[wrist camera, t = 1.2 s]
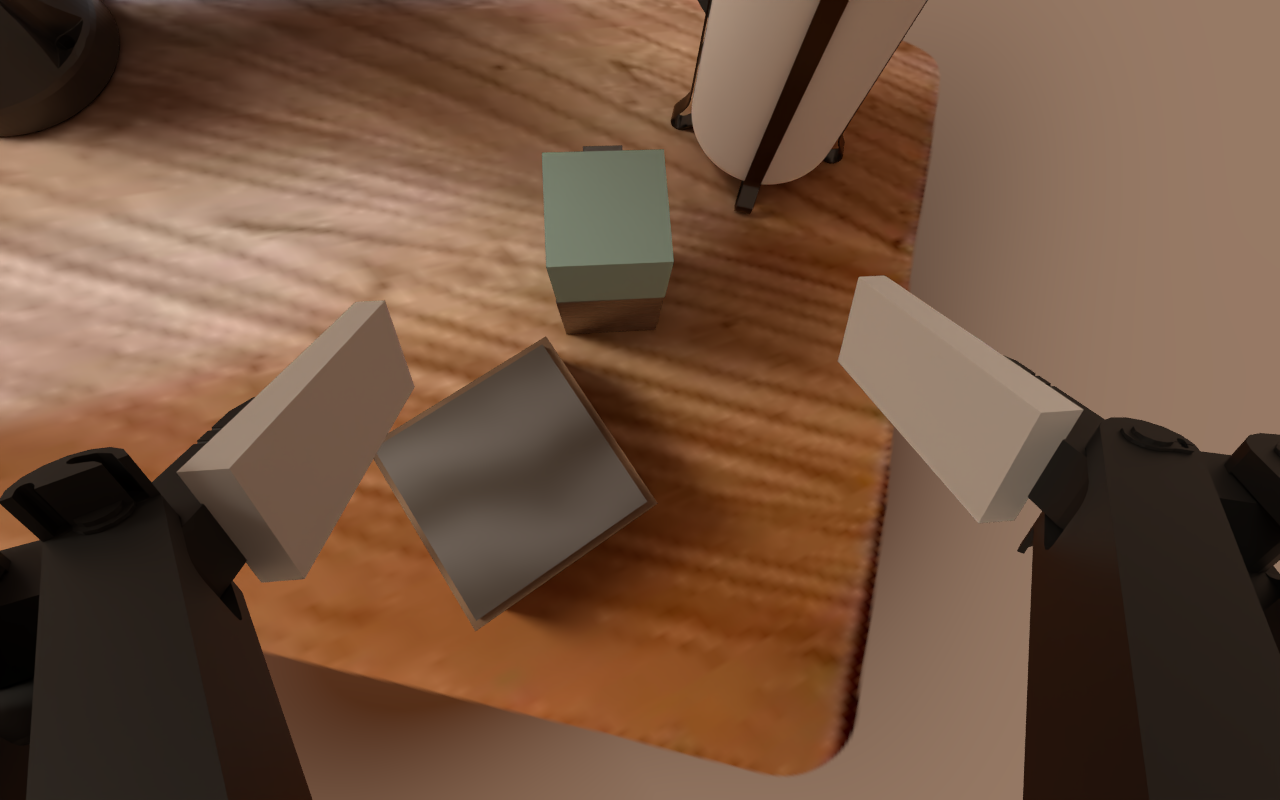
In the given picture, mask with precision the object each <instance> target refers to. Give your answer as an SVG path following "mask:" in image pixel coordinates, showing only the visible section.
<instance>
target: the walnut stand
mask: <svg viewBox="0 0 1280 800" xmlns="http://www.w3.org/2000/svg"><path fill="white" fill-rule="evenodd" d="M374 460H375V462H376V464H377V466H378V467H379V469H380V471H381V472H382V474H383V476H384V477H385V479H386V481H387V482H388V484H389V486H390V488H391V489H392V491H393V493H394V494H395V496H396V498H397V499H398V501H399V503H400V504H401V506H402V508H403V510H404V511H405V513H406V515H407V516H408V518H409V520H410V521H411V523H412V525H413V526H414V528H415V530H416V531H417V533H418V535H419V537H420V538H421V540H422V542H423V543H424V545H425V547H426V548H427V550H428V552H429V553H430V555H431V557H432V559H433V560H434V562H435V564H436V565H437V567H438V569H439V570H440V572H441V574H442V575H443V577H444V579H445V580H446V582H447V584H448V586H449V587H450V589H451V591H452V592H453V594H454V596H455V597H456V599H457V601H458V602H459V604H460V606H461V608H462V609H463V611H464V613H465V614H466V616H467V618H468V619H469V621H470V623H471V624H472V626H473V628H474V630H475V631H477V630H478V629H480V628H481V627H482V626H484V625H485V624H487V623H488V622H490V621H491V620H492V619H494V618H495V617H497V616H498V615H500V614H501V613H502V612H504V611H505V610H507V609H508V608H510V607H511V606H512V605H514V604H515V603H517V602H518V601H519V600H521V599H522V598H524V597H525V596H527V595H528V594H529V593H531V592H532V591H534V590H535V589H537V588H538V587H539V586H541V585H542V584H544V583H545V582H547V581H548V580H549V579H551V578H552V577H554V576H555V575H556V574H558V573H559V572H561V571H562V570H564V569H565V568H566V567H568V566H569V565H571V564H572V563H574V562H575V561H576V560H578V559H579V558H581V557H582V556H584V555H585V554H586V553H588V552H589V551H591V550H592V549H594V548H595V547H596V546H598V545H599V544H601V543H602V542H603V541H605V540H606V539H608V538H609V537H611V536H612V535H613V534H615V533H616V532H618V531H619V530H621V529H622V528H623V527H625V526H626V525H628V524H629V523H631V522H632V521H633V520H635V519H636V518H638V517H639V516H641V515H642V514H643V513H645V512H646V511H648V510H649V509H650V508H652V507H653V506H655V505H656V504H658V503H657V502H656V500H655V499H654V497H653V496H652V494H651V493H650V491H649V490H648V488H647V487H646V485H645V484H644V482H643V481H642V479H641V478H640V476H639V475H638V473H637V472H636V470H635V469H634V467H633V466H632V464H631V463H630V461H629V460H628V458H627V457H626V455H625V454H624V452H623V451H622V449H621V448H620V446H619V445H618V443H617V442H616V440H615V439H614V437H613V436H612V434H611V433H610V431H609V430H608V428H607V427H606V425H605V424H604V422H603V421H602V419H601V418H600V416H599V415H598V413H597V412H596V410H595V409H594V407H593V406H592V404H591V403H590V401H589V400H588V398H587V397H586V395H585V394H584V392H583V391H582V389H581V388H580V386H579V385H578V384H577V382H576V381H575V379H574V378H573V376H572V375H571V373H570V372H569V370H568V369H567V367H566V366H565V364H564V363H563V361H562V360H561V358H560V357H559V355H558V354H557V352H556V351H555V349H554V348H553V346H552V345H551V343H550V342H549V340H548V339H547V337H544V338H543V339H541V340H539V341H538V342H536V343H534V344H533V345H531V346H530V347H528V348H526V349H525V350H523V351H521V352H520V353H518V354H517V355H515V356H513V357H512V358H510V359H508V360H507V361H505V362H504V363H502V364H500V365H499V366H497V367H495V368H494V369H492V370H491V371H489V372H487V373H486V374H484V375H482V376H481V377H479V378H478V379H476V380H474V381H473V382H471V383H469V384H468V385H466V386H465V387H463V388H461V389H460V390H458V391H456V392H455V393H453V394H452V395H450V396H448V397H447V398H445V399H443V400H442V401H440V402H439V403H437V404H435V405H434V406H432V407H430V408H429V409H427V410H426V411H424V412H422V413H421V414H419V415H417V416H416V417H414V418H413V419H411V420H409V421H408V422H406V423H405V424H403V425H401V426H400V427H398V428H396V429H395V430H393V431H392V432H390V433H388V434H387V436H386V438H385V439H384V441H383V443H382V445H381V446H380V448H379V450H378V452H377V453H376V455H375V457H374Z"/></svg>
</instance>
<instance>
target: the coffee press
mask: <svg viewBox="0 0 1280 800" xmlns="http://www.w3.org/2000/svg"><path fill="white" fill-rule="evenodd" d="M927 1H928V0H698V2H699V3H700V5H701V7H702V9H703V10H704V12H705V14H706V15H705V21H704V26H703V31H702V36H701V42H700V47H699V52H698V57H697V63H696V68H695V73H694V78H693V83H692V88H691V91H690V92H689V93H688V95H687V96H685V97H684V98H683V99H682V100H680V101H679V102H678V103H676V104H675V106H674V109H673V113H672V118H671V124H672V126H673V127H674V128H676V129H679V130H683V129H686V128H689V127H691V126H693V129H694V132H695V135H696V138H697V140H698V142H699V144H700V146H701V148H702V149H703V151H704V152H705V154H706V155H707V156H708V158H709V159H710V160H711V161H712V162H713V163H714V164H715V165H716V166H718V167H719V168H720V169H721V170H723V171H724V172H726V173H728V174H729V175H731V176H733V177H735V178H737V179H740V180H742V181H741V185H740V188H739V192H738V195H737V199H736V203H735V208H734V211H738V212H743V213H747V214H750V213H751V212H752V209H753V206H754V203H755V200H756V197H757V194H758V191H759V188H760V185H761V184H764V185H772V184H781V183H786V182H789V181H793V180H795V179H798V178H800V177H802V176H804V175H806V174H807V173H809V172H810V171H812V170H813V169H814V168H816V167H817V166H818V165H819V164H820V163H821V162H822V161H823V160H824V161H825V162H827V163H837V162H839V161H840V160H841V159H842V157H843V151H844V144H845V141H844V138H843V135H842V134H843V132H844V131H845V129H846V127H847V126H848V124H849V123H850V121H851V119H852V118H853V116H854V115H855V113H856V112H857V110H858V108H859V107H860V105H861V104H862V102H863V101H864V99H865V97H866V96H867V94H868V93H869V91H870V90H871V88H872V86H873V85H874V83H875V82H876V80H877V79H878V77H879V76H880V74H881V72H882V71H883V69H884V68H885V66H886V65H887V63H888V61H889V60H890V58H891V57H892V55H893V54H894V52H895V51H896V49H897V47H898V46H899V44H900V43H901V41H902V40H903V38H904V37H905V35H906V33H907V32H908V30H909V29H910V27H911V26H912V24H913V22H914V21H915V19H916V18H917V16H918V15H919V13H920V12H921V10H922V8H923V7H924V5H925V4H926V2H927ZM707 18H708V23H707ZM706 23H707V28H706ZM705 28H706V33H705ZM704 33H705V38H704ZM703 38H704V42H703ZM702 43H703V44H702ZM698 66H699V69H698ZM697 69H698V74H697ZM696 74H697V79H696V84H695V90H694V95H693V101H692V113H691V114H688V115H685V116H682V115H679V114H680V113H682V112H683V111H684V110H685V109H686V108H687V107H688V106H689V104H690V101H691V97H692V92H693V88H694V83H695V78H696ZM837 139H838V147H839V148H838V149H831V148H832V147H833V145H834V144H835V142H836V141H837Z"/></svg>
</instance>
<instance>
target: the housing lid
mask: <svg viewBox="0 0 1280 800" xmlns="http://www.w3.org/2000/svg"><path fill="white" fill-rule="evenodd" d="M542 168H543V195H544V222H545V249H546V268H547V271H548V274H549V278H550V281H551V284H552V287H553V290H554V293H555V297H556V300H557V302H575V301H597V300H618V299H640V298H661V297H665V294H666V290H667V286H668V282H669V279H670V275H671V271H672V267H673V263H674V258H673V247H672V235H671V224H670V213H669V202H668V190H667V179H666V168H665V156H664V149H659V150H622V145H621V146H583V152H548V153H542Z"/></svg>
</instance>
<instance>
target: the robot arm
mask: <svg viewBox="0 0 1280 800" xmlns="http://www.w3.org/2000/svg"><path fill="white" fill-rule="evenodd" d="M118 55H119V34H118V29H117V26H116V23H115V21H114V18H113V17H112V15H111V13H110V12H109V10H108V9H107V8H106V6H105V5H104V4H103V3H102V2H101V1H100V0H0V136H14V135H22V134H28V133H32V132H36V131H40V130H43V129H46V128H49V127H52V126H54V125H56V124H59V123H61V122H63V121H65V120H66V119H68V118H70V117H72V116H73V115H75V114H76V113H78V112H79V111H81V110H82V109H83V108H85V107H86V106H87V105H88V104H89V103H90V102H92V101H93V100H94V99H95V98H96V97H97V95H98V94H99V93H100V92H101V91H102V89H103V88H104V87H105V85H106V84H107V82H108V81H109V79H110V77H111V75H112V73H113V71H114V69H115V66H116V63H117V60H118ZM838 362H839V363H840V364H841V365H842V367H843V368H844V369H845V370H846V371H847V372H848V374H849V375H850V376H851V377H852V378H853V379H854V380H855V382H856V383H857V384H858V385H859V386H860V387H861V388H862V390H863V391H864V392H865V393H866V394H867V395H868V397H869V398H870V399H871V400H872V401H873V402H874V403H875V405H876V406H877V407H878V408H879V409H880V410H881V412H882V413H883V414H884V415H885V416H886V417H887V418H888V420H889V421H890V422H891V423H892V424H893V425H894V426H895V428H896V429H897V430H898V431H899V432H900V433H901V435H902V436H903V437H904V438H905V439H906V440H907V441H908V443H909V444H910V445H911V446H912V447H913V448H914V449H915V451H916V452H917V453H918V454H919V455H920V456H921V458H922V459H923V460H924V461H925V462H926V463H927V464H928V466H929V467H930V468H931V469H932V470H933V471H934V473H935V474H936V475H937V476H938V477H939V478H940V479H941V481H942V482H943V483H944V484H945V485H946V486H947V488H948V489H949V490H950V491H951V492H952V493H953V494H954V495H955V497H956V498H957V499H958V500H959V501H960V502H961V504H962V505H963V506H964V507H965V508H966V509H967V511H968V512H969V513H970V514H971V515H972V516H973V517H974V519H975V520H976V521H977V522H978V523H988V522H999V521H1012V520H1015V519H1016V517H1017V516H1018V514H1019V512H1020V511H1021V509H1022V508H1023V506H1024V504H1025V503H1026V501H1027V500H1028V498H1029V499H1030V500H1031V501H1033V502H1034V503H1035V504H1036V505H1037V506H1038V507H1039V508H1040V509H1041V510H1042V513H1041V514H1040V516H1039V517H1038V519H1037V520H1036V522H1035V523H1034V525H1033V526H1032V528H1031V529H1030V531H1029V532H1028V534H1027V535H1026V537H1025V538H1024V540H1023V541H1022V543H1021V544H1020V546H1019V548H1018V550H1017V551H1018V552H1021V553H1025V551H1026V550H1027V548H1028V547H1031V546H1033V562H1032V586H1031V612H1030V638H1029V662H1028V687H1027V689H1028V690H1027V712H1026V713H1027V714H1026V739H1025V763H1024V788H1023V800H1280V574H1279V572H1278V571H1277V570H1276V569H1275V567H1274V566H1273V565H1274V564H1275V563H1277V562H1278V561H1279V560H1280V435H1276V434H1264V433H1260V434H1254V435H1250V436H1248V437H1247V438H1246V440H1245V441H1244V442H1243V443H1242V444H1241V445H1240V446H1239V447H1238V448H1237V450H1236V451H1235V452H1234V453H1233V454H1232V455H1224V454H1216V453H1208V452H1201V451H1199V449H1198V448H1197V447H1196V446H1195V444H1193V443H1192V442H1190V441H1189V440H1188V439H1186V438H1184V437H1183V436H1181V435H1180V434H1177V433H1175V432H1173V431H1171V430H1169V429H1167V428H1164V427H1162V426H1159V425H1155V424H1152V423H1149V422H1146V421H1142V420H1137V419H1131V418H1109V419H1106V420H1104V419H1103V418H1102V417H1100V416H1099V415H1097V414H1096V413H1094V412H1093V411H1091V410H1089V409H1088V408H1087V407H1085V406H1084V405H1082V404H1081V403H1079V402H1077V401H1076V400H1075V399H1073V398H1072V397H1070V396H1069V395H1067V394H1066V393H1064V392H1063V391H1061V390H1059V389H1058V388H1057V387H1055V386H1050V383H1049V382H1047V381H1046V380H1045V379H1043V378H1041V377H1040V376H1035V373H1034V372H1032V371H1031V370H1030V369H1028V368H1027V367H1025V366H1024V365H1022V364H1020V363H1019V362H1017V361H1016V360H1013V359H1011V358H1008V357H1006V356H1004V355H1001V354H1000V353H999V352H997V351H996V350H994V349H992V348H991V347H990V346H988V345H987V344H985V343H984V342H982V341H981V340H980V339H978V338H977V337H975V336H974V335H972V334H971V333H969V332H968V331H966V330H965V329H963V328H962V327H960V326H959V325H957V324H956V323H954V322H953V321H951V320H950V319H948V318H946V317H945V316H944V315H942V314H941V313H939V312H938V311H936V310H935V309H934V308H932V307H930V306H929V305H928V304H926V303H924V302H923V301H922V300H920V299H919V298H917V297H916V296H914V295H913V294H911V293H910V292H908V291H907V290H905V289H904V288H902V287H901V286H900V285H898V284H897V283H895V282H894V281H892V280H891V279H889V278H888V277H886V276H866V277H859V278H858V282H857V286H856V290H855V294H854V298H853V302H852V306H851V310H850V314H849V318H848V322H847V326H846V330H845V334H844V339H843V343H842V347H841V351H840V355H839V359H838ZM413 389H414V384H413V381H412V378H411V375H410V372H409V369H408V366H407V363H406V360H405V358H404V355H403V352H402V349H401V346H400V343H399V340H398V337H397V334H396V331H395V328H394V325H393V322H392V320H391V317H390V314H389V311H388V308H387V305H386V302H385V301H365V302H355V303H354V304H353V305H352V306H351V307H350V308H349V309H348V310H347V311H346V312H344V313H343V314H342V315H341V316H340V317H339V318H338V319H337V320H336V321H335V322H334V323H333V324H332V325H331V326H330V327H329V328H328V329H327V330H326V331H324V332H323V333H322V334H321V335H320V336H319V337H318V338H317V339H316V340H315V341H314V342H313V343H312V344H311V345H310V346H309V347H308V348H307V349H306V350H304V351H303V352H302V353H301V354H300V355H299V356H298V357H297V358H296V359H295V360H294V361H293V362H292V363H291V364H290V365H289V366H288V367H287V368H285V369H284V370H283V371H282V372H281V373H280V374H279V375H278V376H277V377H276V378H275V379H274V380H273V381H272V382H271V383H270V384H269V385H268V386H267V387H265V388H264V389H263V390H262V391H261V392H260V393H259V394H258V395H257V396H256V397H253V398H251V399H250V400H248V401H246V402H245V403H243V404H241V405H239V406H238V407H236V408H234V409H232V410H231V411H229V412H228V413H227V414H226V415H225V416H224V417H222V418H221V419H220V420H219V421H218V422H217V423H216V424H215V425H214V426H213V427H212V431H207V432H206V433H205V434H204V435H203V436H202V437H201V438H200V439H199V440H198V441H197V442H198V443H197V444H193V445H192V446H191V447H190V448H189V449H188V450H187V451H186V452H184V453H183V454H182V455H181V456H180V457H179V458H178V459H177V460H176V461H175V462H174V463H173V464H171V465H170V466H169V467H168V468H167V469H166V470H165V471H164V472H163V473H162V474H161V475H159V476H158V477H157V478H156V479H155V480H154V481H153V482H152V483H151V481H150V480H149V479H148V478H147V477H146V475H145V474H144V473H143V472H142V471H141V469H140V468H139V467H138V466H137V464H136V463H135V462H134V461H133V460H132V458H131V457H130V456H129V455H128V454H127V453H126V452H125V450H124V449H119V448H112V447H107V448H99V449H91V450H87V451H83V452H80V453H76V454H73V455H69V456H66V457H63V458H61V459H59V460H56V461H54V462H51V463H49V464H46V465H44V466H42V467H40V468H38V469H36V470H35V471H33V472H31V473H29V474H27V475H25V476H24V477H22V478H20V479H19V480H18V481H17V482H15V483H14V484H13V485H12V486H10V487H9V488H8V489H7V490H5V492H4V493H3V495H2V496H1V498H0V504H1V505H2V506H3V507H4V508H5V509H6V510H8V511H9V512H10V513H11V514H12V515H13V516H14V517H15V518H17V519H18V520H19V521H20V522H21V523H22V524H23V525H24V526H25V527H27V528H28V529H29V530H30V531H31V532H32V533H33V534H34V535H35V536H37V537H38V538H39V539H40V540H39V541H35V542H31V543H28V544H24V545H20V546H16V547H12V548H9V549H5V550H1V551H0V800H312V797H311V794H310V791H309V788H308V785H307V783H306V779H305V776H304V774H303V771H302V767H301V765H300V762H299V759H298V756H297V753H296V750H295V747H294V744H293V741H292V738H291V735H290V732H289V729H288V726H287V723H286V720H285V717H284V714H283V712H282V708H281V705H280V702H279V699H278V697H277V694H276V691H275V688H274V685H273V682H272V679H271V676H270V673H269V670H268V667H267V664H266V662H265V658H264V655H263V652H262V649H261V646H260V643H259V640H258V637H257V634H256V631H255V628H254V626H253V623H252V620H251V617H250V614H249V611H248V608H247V605H246V602H245V599H244V596H243V593H242V591H241V590H240V589H239V588H238V587H237V585H236V584H235V583H234V582H233V579H234V578H235V576H236V575H237V574H238V572H239V571H240V569H241V568H242V567H243V565H244V564H245V562H246V563H247V564H248V566H249V567H250V568H251V569H252V571H253V572H254V573H255V575H256V576H257V577H258V579H259V580H260V581H261V582H274V581H286V580H298V579H305V577H306V576H307V574H308V572H309V570H310V569H311V567H312V565H313V563H314V562H315V560H316V558H317V556H318V555H319V553H320V551H321V549H322V548H323V546H324V544H325V542H326V541H327V539H328V537H329V535H330V534H331V532H332V530H333V528H334V527H335V525H336V523H337V521H338V520H339V518H340V516H341V514H342V513H343V511H344V509H345V507H346V506H347V504H348V502H349V500H350V499H351V497H352V495H353V493H354V492H355V490H356V488H357V486H358V485H359V483H360V481H361V479H362V478H363V476H364V474H365V473H366V471H367V469H368V467H369V466H370V464H371V462H372V460H373V459H374V457H375V455H376V453H377V452H378V450H379V448H380V446H381V445H382V443H383V441H384V439H385V438H386V436H387V434H388V432H389V431H390V429H391V427H392V425H393V424H394V422H395V420H396V418H397V417H398V415H399V413H400V411H401V410H402V408H403V406H404V404H405V403H406V401H407V399H408V397H409V396H410V394H411V392H412V390H413Z"/></svg>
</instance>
